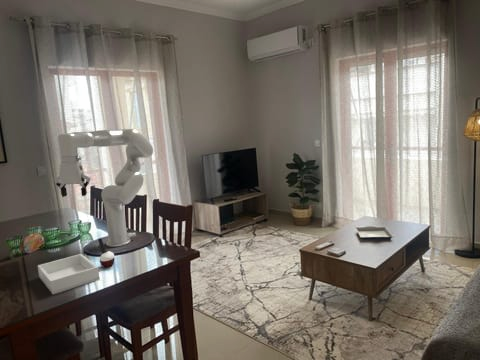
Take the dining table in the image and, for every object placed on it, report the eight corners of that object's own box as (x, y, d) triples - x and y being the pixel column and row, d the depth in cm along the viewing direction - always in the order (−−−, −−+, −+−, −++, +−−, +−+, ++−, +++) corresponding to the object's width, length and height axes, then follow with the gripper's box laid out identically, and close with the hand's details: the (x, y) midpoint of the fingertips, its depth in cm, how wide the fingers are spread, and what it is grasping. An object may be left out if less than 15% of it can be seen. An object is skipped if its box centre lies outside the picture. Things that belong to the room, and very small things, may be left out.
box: (82, 264, 166) (81, 253, 165) (99, 279, 149) (98, 266, 148) (39, 277, 154) (37, 265, 153) (52, 294, 138) (50, 281, 137)
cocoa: (115, 268, 161) (114, 243, 158) (101, 271, 158) (99, 245, 156) (113, 260, 169) (111, 236, 167) (99, 263, 166) (97, 238, 164)
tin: (25, 255, 182) (22, 239, 181) (20, 255, 183) (17, 239, 181) (46, 245, 197) (44, 230, 195) (41, 245, 197) (39, 230, 196)
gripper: (91, 158, 170) (95, 193, 172) (56, 159, 171) (61, 194, 174) (83, 160, 162) (88, 197, 165) (47, 161, 163) (52, 198, 166)
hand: (74, 195), depth 169 cm, fingers open, 9 cm apart
